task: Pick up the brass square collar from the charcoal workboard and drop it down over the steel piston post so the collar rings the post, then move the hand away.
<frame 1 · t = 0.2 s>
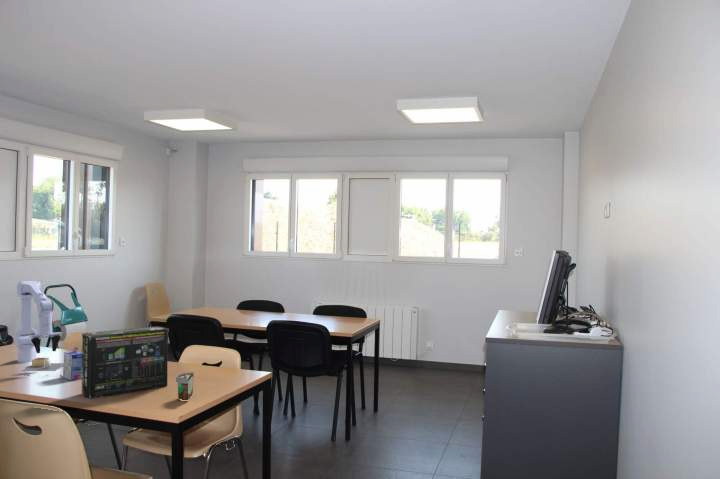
hand: (46, 352, 285), 10 cm above the table, tool pointing down, fingers open, 7 cm apart
router box: (125, 390, 257), on the table
ink cartridge box: (72, 378, 276), on the table
food container: (183, 399, 245), on the table
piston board: (45, 369, 293), on the table
brass collar: (40, 365, 296), point 1 cm above the table, touching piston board
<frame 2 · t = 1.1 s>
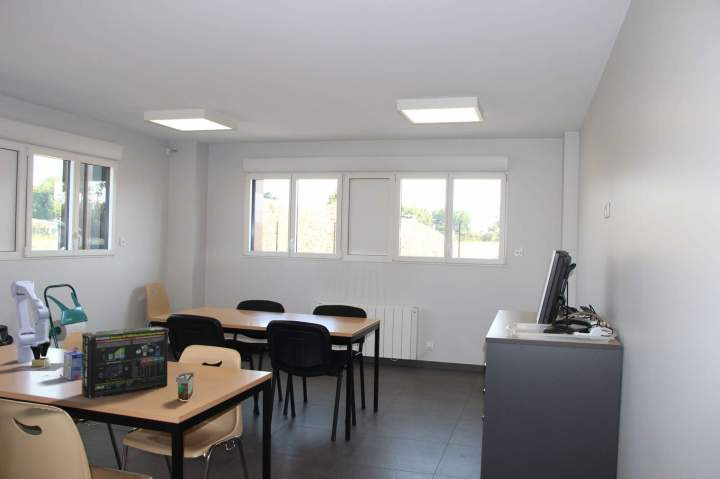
hand: (40, 358, 295), 5 cm above the table, tool pointing down, fingers open, 7 cm apart
nothing on the table moved.
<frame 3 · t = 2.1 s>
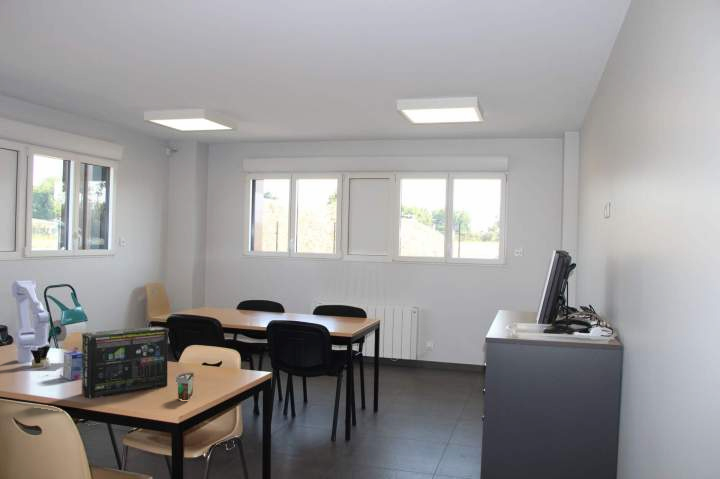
hand: (40, 362, 296), 3 cm above the table, tool pointing down, fingers closed on brass collar, 6 cm apart
brass collar: (40, 365, 296), point 1 cm above the table, touching gripper, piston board
everything else where it was.
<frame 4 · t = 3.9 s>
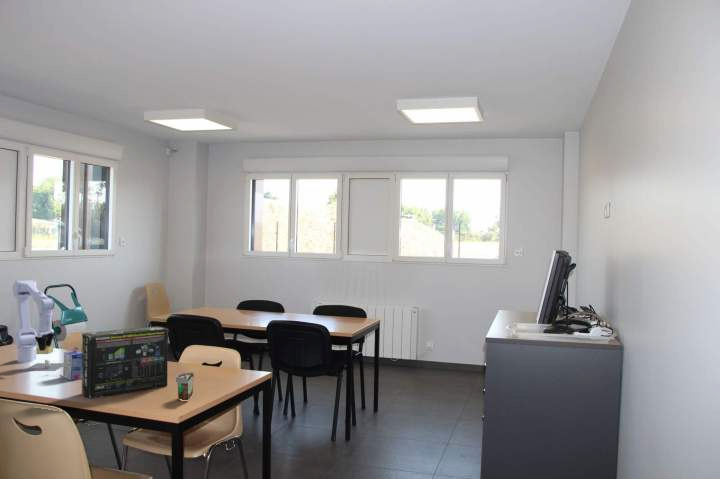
hand: (44, 349, 293), 10 cm above the table, tool pointing down, fingers closed on brass collar, 6 cm apart
brass collar: (44, 353, 293), point 8 cm above the table, touching gripper
everything else where it was.
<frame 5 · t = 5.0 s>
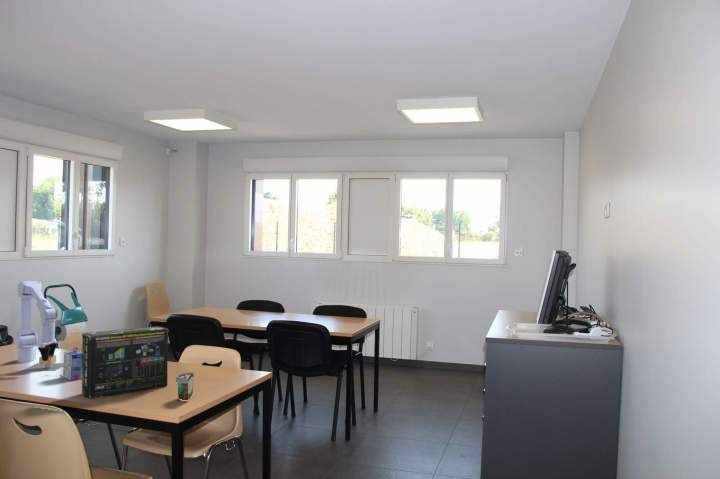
hand: (47, 359, 290), 6 cm above the table, tool pointing down, fingers closed on brass collar, 6 cm apart
brass collar: (47, 363, 290), point 4 cm above the table, touching gripper
everything else where it was.
when the fingers open (6 cm above the table, at t = 6.0 s): brass collar drops 3 cm, resting on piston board.
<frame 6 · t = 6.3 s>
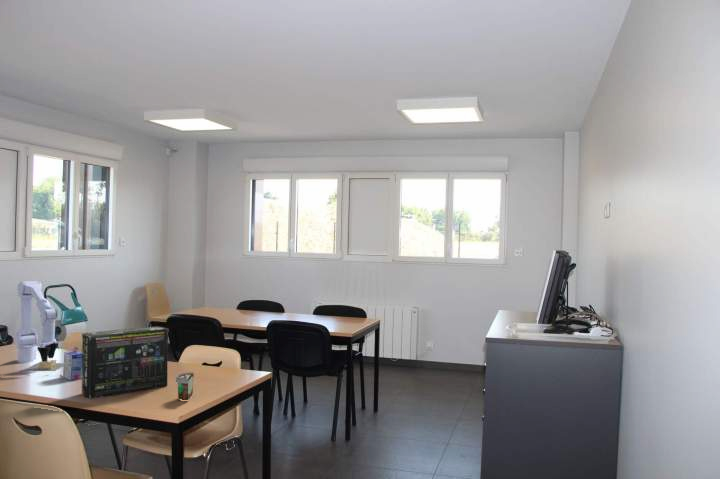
hand: (47, 359, 290), 6 cm above the table, tool pointing down, fingers open, 7 cm apart
brass collar: (47, 368, 290), point 1 cm above the table, touching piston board
everything else where it was.
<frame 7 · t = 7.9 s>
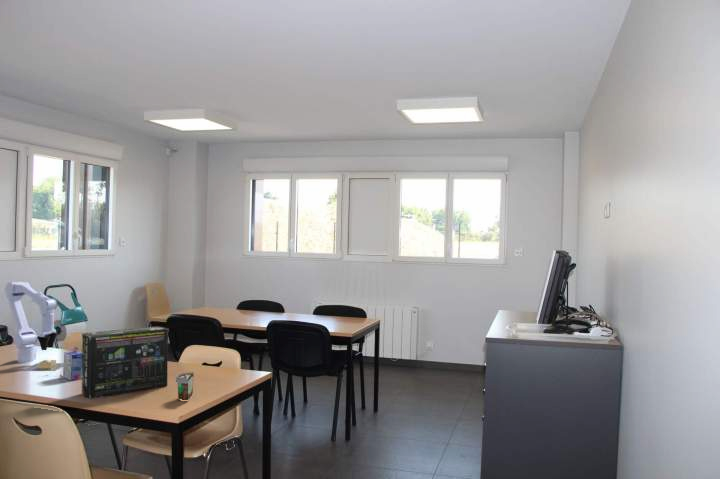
hand: (47, 348, 299), 9 cm above the table, tool pointing down, fingers open, 7 cm apart
nothing on the table moved.
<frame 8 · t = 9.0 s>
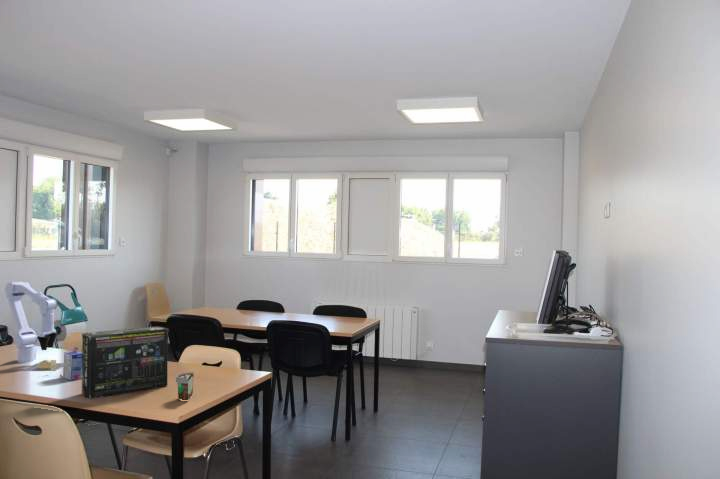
hand: (47, 348, 299), 9 cm above the table, tool pointing down, fingers open, 7 cm apart
nothing on the table moved.
at the end: brass collar 0.0 cm from the target spot on the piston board, point 1.2 cm above the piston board's base; brass collar tilted 0°; the gripper is holding nothing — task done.
